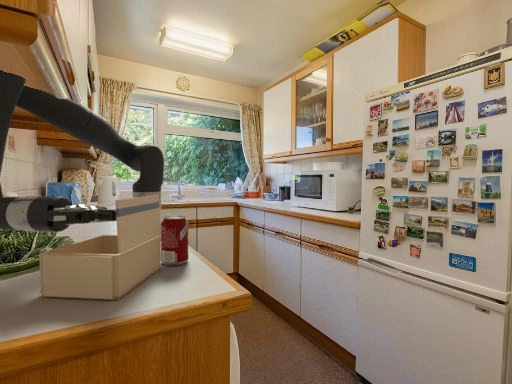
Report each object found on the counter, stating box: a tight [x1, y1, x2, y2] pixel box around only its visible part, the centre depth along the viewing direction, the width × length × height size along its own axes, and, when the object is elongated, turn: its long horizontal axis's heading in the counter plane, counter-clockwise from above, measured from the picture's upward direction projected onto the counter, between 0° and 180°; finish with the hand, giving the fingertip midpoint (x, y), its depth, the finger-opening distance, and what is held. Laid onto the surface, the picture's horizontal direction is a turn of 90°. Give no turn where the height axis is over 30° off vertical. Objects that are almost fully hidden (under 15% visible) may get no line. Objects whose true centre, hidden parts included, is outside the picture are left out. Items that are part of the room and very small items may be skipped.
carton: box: [38, 234, 162, 301], centre depth 57 cm, size 18×15×8 cm
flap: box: [114, 195, 161, 253], centre depth 56 cm, size 16×1×10 cm, turn 175°
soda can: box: [160, 214, 189, 267], centre depth 70 cm, size 7×7×12 cm
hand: (118, 215), depth 56 cm, fingers closed
